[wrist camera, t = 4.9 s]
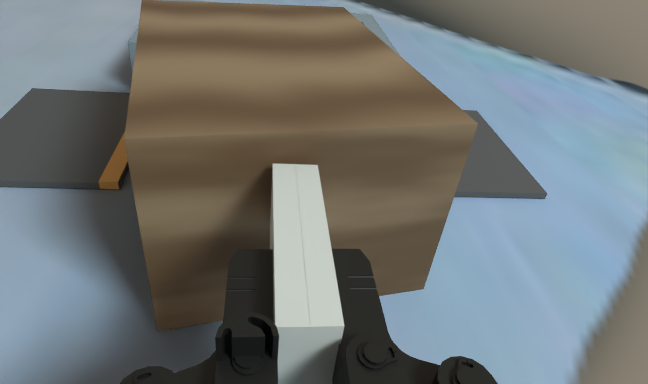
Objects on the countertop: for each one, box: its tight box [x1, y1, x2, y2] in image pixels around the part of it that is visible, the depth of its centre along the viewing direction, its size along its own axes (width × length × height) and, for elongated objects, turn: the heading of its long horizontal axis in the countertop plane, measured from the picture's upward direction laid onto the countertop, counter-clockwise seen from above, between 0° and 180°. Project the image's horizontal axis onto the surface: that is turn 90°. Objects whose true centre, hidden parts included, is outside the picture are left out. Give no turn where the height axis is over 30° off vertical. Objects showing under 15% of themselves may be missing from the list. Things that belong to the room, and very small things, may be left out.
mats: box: [0, 88, 547, 199], centre depth 31 cm, size 12×35×1 cm, turn 96°
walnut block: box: [124, 0, 478, 331], centre depth 24 cm, size 16×12×9 cm
